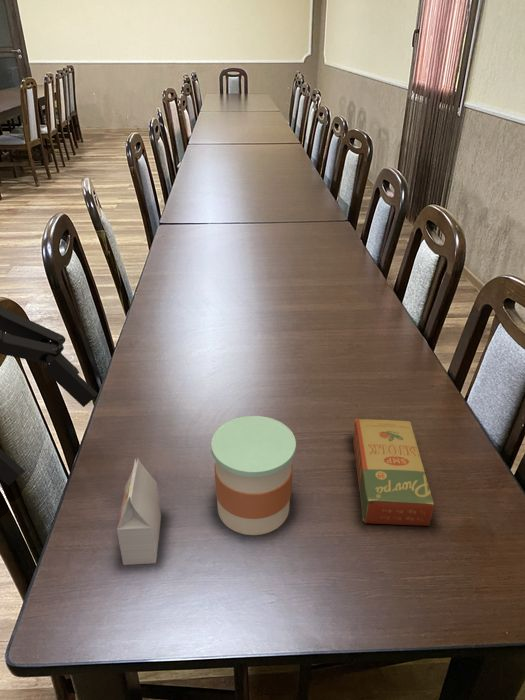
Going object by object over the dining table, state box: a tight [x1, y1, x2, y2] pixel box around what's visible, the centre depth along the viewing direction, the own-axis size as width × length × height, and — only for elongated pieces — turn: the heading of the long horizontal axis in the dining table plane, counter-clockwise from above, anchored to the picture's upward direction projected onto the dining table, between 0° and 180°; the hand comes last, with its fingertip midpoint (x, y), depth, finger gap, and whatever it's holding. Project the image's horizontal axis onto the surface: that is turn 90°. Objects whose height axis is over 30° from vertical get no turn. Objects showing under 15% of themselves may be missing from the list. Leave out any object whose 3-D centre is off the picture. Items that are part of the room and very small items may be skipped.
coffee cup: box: [210, 415, 297, 536], centre depth 66 cm, size 10×10×11 cm
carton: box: [352, 418, 435, 527], centre depth 72 cm, size 8×16×4 cm, turn 177°
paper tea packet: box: [116, 457, 162, 566], centre depth 62 cm, size 4×7×10 cm, turn 4°
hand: (57, 436), depth 60 cm, fingers open, 13 cm apart
